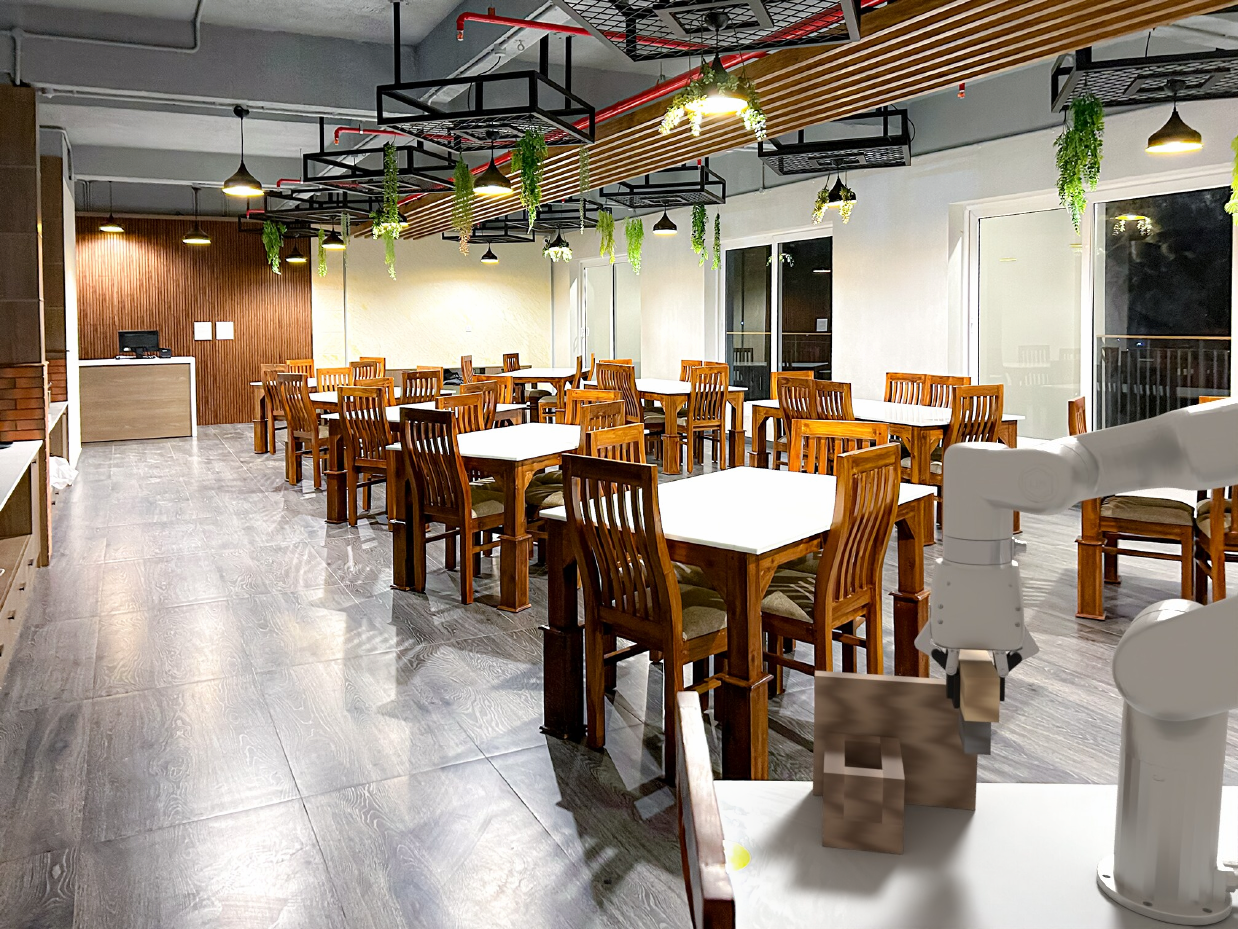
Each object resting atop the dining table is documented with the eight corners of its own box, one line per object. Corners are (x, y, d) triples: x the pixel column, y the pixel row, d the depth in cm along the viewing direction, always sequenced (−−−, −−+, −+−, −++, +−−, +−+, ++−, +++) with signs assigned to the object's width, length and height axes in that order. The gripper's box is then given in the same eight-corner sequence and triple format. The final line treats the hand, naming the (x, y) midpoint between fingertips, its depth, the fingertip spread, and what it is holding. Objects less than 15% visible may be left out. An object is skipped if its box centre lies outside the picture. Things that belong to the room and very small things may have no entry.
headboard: (973, 803, 125) (978, 681, 123) (990, 863, 110) (996, 727, 108) (813, 788, 129) (815, 670, 127) (809, 844, 115) (811, 713, 113)
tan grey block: (983, 726, 120) (984, 646, 119) (998, 766, 108) (999, 678, 107) (952, 724, 121) (953, 645, 120) (964, 764, 109) (965, 677, 108)
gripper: (1048, 545, 114) (1044, 698, 116) (900, 543, 118) (899, 691, 120) (1062, 559, 107) (1058, 722, 109) (903, 555, 110) (902, 713, 112)
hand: (974, 704), depth 114 cm, fingers closed on tan grey block, 3 cm apart
